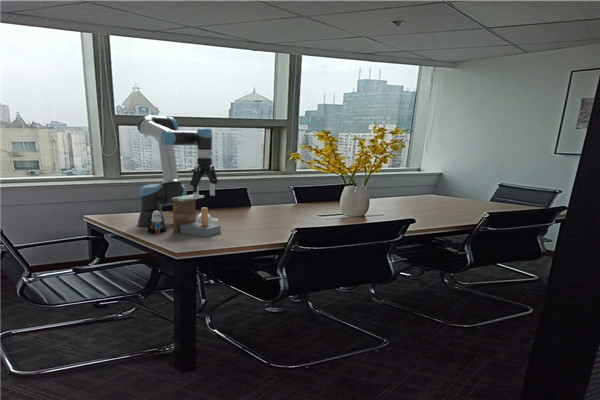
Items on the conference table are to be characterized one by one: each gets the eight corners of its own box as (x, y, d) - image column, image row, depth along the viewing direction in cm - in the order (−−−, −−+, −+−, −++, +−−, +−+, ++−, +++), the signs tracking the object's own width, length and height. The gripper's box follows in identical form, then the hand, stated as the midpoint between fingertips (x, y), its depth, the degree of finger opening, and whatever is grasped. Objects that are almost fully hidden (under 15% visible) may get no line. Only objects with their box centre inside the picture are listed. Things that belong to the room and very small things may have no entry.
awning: (172, 232, 239) (172, 197, 236) (193, 227, 254) (193, 194, 251) (184, 234, 236) (183, 199, 233) (204, 228, 251) (204, 195, 248)
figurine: (148, 235, 233) (148, 212, 231) (146, 230, 243) (146, 209, 241) (167, 233, 237) (167, 211, 235) (164, 229, 247) (164, 208, 245)
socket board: (180, 232, 240) (180, 225, 240) (194, 228, 251) (194, 221, 250) (206, 236, 232) (206, 229, 232) (220, 232, 243) (220, 225, 242)
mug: (197, 229, 250) (197, 215, 249) (196, 225, 260) (196, 212, 258) (219, 228, 253) (219, 214, 252) (217, 225, 263) (217, 211, 262)
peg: (200, 233, 239) (200, 208, 237) (204, 232, 242) (204, 207, 240) (205, 234, 238) (205, 208, 236) (209, 233, 241) (209, 207, 239)
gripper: (194, 158, 221) (194, 200, 225) (224, 157, 243) (223, 194, 247) (183, 158, 225) (183, 199, 228) (213, 156, 247) (213, 193, 250)
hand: (204, 197), depth 237 cm, fingers open, 13 cm apart
